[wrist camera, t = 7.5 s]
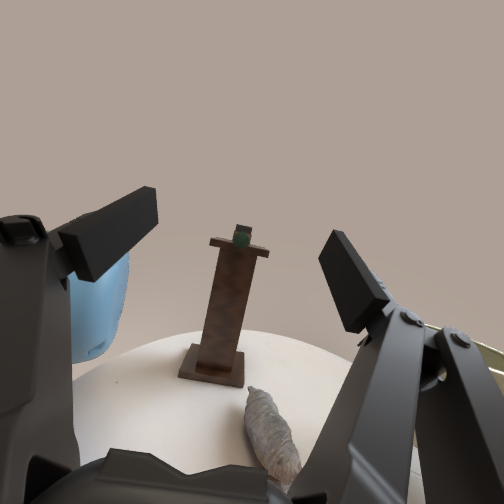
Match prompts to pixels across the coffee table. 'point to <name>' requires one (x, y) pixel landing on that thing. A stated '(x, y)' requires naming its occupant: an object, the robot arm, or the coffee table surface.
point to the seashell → (271, 437)
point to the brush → (242, 236)
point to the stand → (224, 318)
